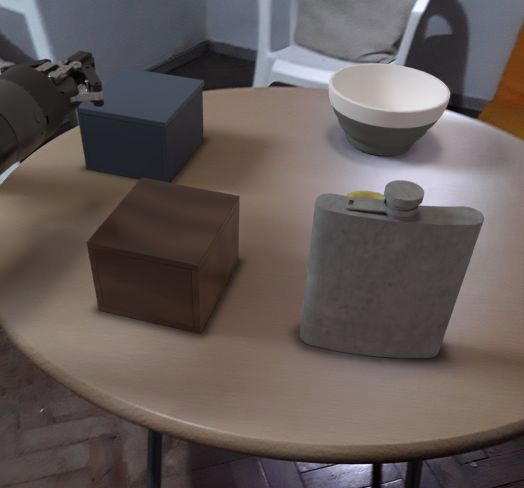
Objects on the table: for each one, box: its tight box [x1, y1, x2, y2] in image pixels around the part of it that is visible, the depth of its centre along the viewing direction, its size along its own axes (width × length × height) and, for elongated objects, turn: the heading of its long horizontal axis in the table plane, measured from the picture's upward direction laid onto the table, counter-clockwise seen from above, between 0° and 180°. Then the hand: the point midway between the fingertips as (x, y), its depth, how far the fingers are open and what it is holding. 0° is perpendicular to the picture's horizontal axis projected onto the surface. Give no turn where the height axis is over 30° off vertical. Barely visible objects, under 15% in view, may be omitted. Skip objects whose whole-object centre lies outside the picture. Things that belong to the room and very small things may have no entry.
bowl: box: [328, 62, 451, 157], centre depth 105 cm, size 20×20×10 cm
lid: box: [75, 67, 205, 128], centre depth 95 cm, size 16×14×1 cm
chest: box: [76, 87, 204, 183], centre depth 98 cm, size 16×14×9 cm
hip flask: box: [298, 179, 485, 359], centre depth 64 cm, size 16×4×20 cm, turn 84°
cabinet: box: [86, 178, 241, 334], centre depth 74 cm, size 15×13×10 cm
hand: (87, 59), depth 77 cm, fingers closed
